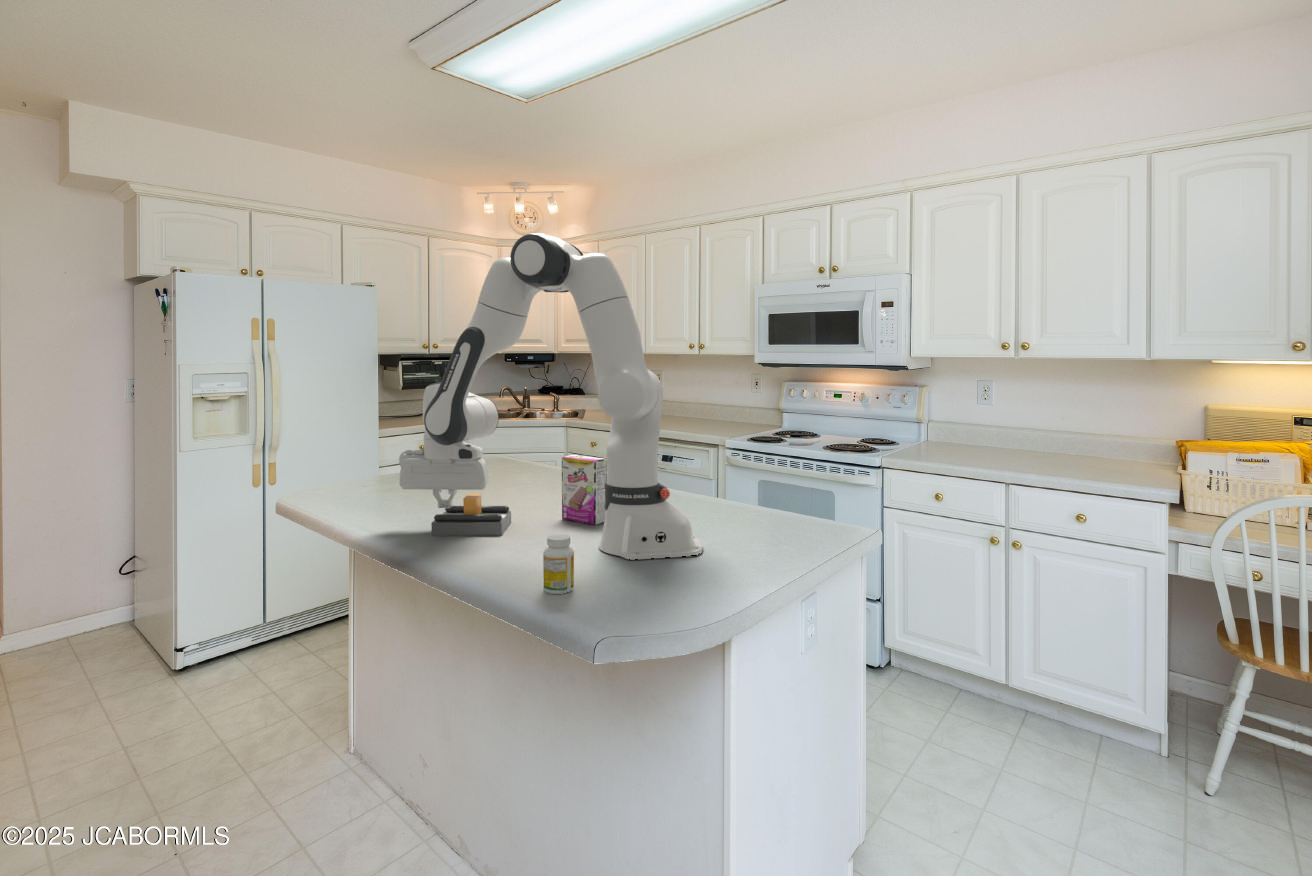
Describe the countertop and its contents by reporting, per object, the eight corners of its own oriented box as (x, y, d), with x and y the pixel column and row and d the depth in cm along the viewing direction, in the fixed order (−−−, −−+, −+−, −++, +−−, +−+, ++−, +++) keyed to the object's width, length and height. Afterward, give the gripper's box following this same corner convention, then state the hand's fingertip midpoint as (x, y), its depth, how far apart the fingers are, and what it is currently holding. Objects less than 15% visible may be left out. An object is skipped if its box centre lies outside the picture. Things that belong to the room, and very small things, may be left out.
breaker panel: (511, 522, 160) (511, 504, 160) (501, 535, 148) (501, 516, 148) (446, 522, 159) (445, 504, 159) (431, 535, 148) (431, 516, 147)
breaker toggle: (481, 512, 156) (481, 494, 155) (476, 517, 151) (476, 498, 150) (469, 512, 156) (468, 494, 155) (463, 517, 151) (463, 498, 150)
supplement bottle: (557, 597, 109) (556, 542, 108) (537, 590, 113) (536, 537, 112) (580, 589, 114) (580, 536, 112) (560, 582, 117) (560, 531, 116)
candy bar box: (560, 519, 164) (560, 456, 162) (573, 516, 168) (573, 454, 166) (595, 526, 158) (595, 460, 156) (607, 522, 162) (607, 457, 160)
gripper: (394, 451, 148) (396, 510, 149) (483, 452, 149) (484, 510, 150) (403, 448, 154) (405, 504, 156) (489, 448, 155) (490, 504, 156)
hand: (445, 507), depth 153 cm, fingers closed
